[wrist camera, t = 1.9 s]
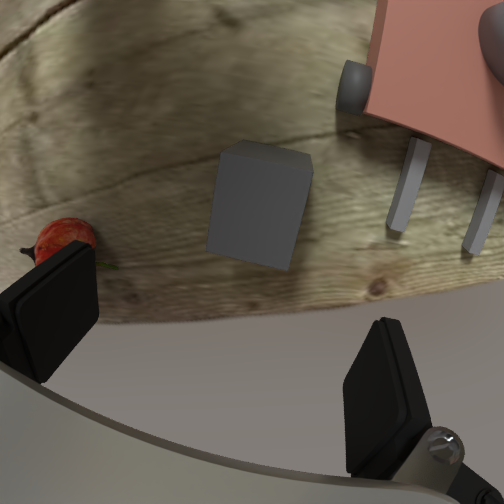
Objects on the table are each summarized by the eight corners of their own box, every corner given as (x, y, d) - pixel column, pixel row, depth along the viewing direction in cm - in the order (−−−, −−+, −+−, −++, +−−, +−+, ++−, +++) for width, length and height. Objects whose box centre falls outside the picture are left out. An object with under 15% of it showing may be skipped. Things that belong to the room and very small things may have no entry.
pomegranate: (132, 219, 30) (38, 186, 23) (136, 285, 26) (22, 255, 19) (103, 260, 33) (20, 236, 26) (104, 320, 29) (9, 300, 22)
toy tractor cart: (366, -69, 14) (388, -128, 5) (565, 41, 12) (625, 39, 4) (310, 201, 24) (314, 252, 16) (514, 263, 23) (563, 316, 15)
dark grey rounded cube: (243, 139, 23) (220, 151, 17) (310, 154, 23) (313, 172, 16) (229, 214, 26) (205, 251, 19) (291, 228, 25) (287, 271, 19)
